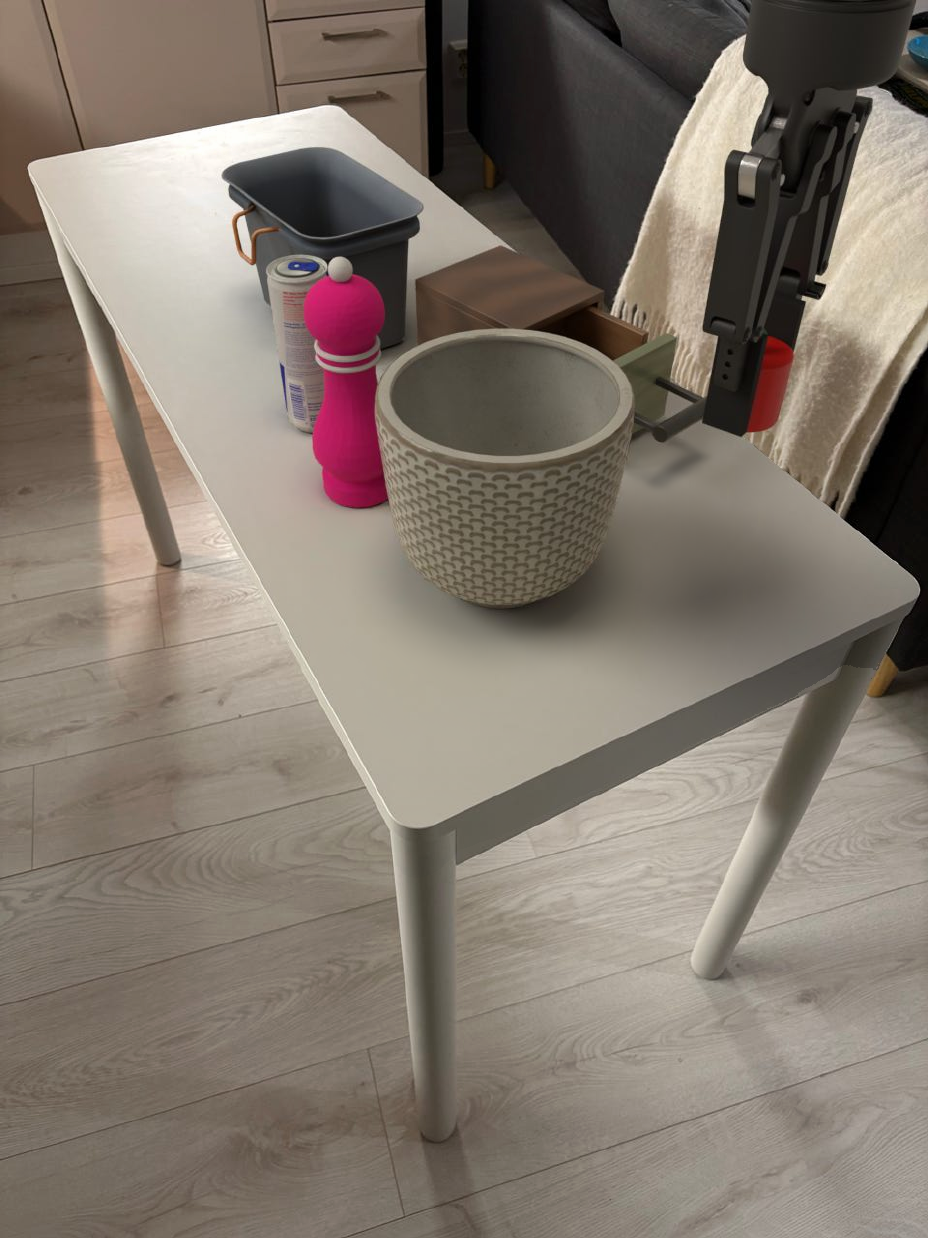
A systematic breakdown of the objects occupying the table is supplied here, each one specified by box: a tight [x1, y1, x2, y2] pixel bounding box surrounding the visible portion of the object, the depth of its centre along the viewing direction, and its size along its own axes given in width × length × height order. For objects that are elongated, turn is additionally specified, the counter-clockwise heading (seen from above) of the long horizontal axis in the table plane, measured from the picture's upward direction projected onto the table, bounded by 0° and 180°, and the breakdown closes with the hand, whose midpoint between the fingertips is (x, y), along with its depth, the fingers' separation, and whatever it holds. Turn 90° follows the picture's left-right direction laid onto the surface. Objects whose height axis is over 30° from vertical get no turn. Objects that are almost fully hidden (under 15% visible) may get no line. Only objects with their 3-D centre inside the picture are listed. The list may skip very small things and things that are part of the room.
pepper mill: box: [303, 257, 389, 508], centre depth 76 cm, size 7×7×20 cm
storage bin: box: [221, 146, 425, 350], centre depth 99 cm, size 21×16×14 cm
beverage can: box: [266, 255, 329, 434], centre depth 85 cm, size 5×5×15 cm
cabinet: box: [414, 245, 605, 346], centre depth 93 cm, size 14×11×10 cm
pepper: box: [746, 328, 795, 433], centre depth 60 cm, size 5×5×6 cm
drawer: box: [536, 306, 707, 444], centre depth 86 cm, size 19×10×8 cm, turn 43°
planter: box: [375, 329, 635, 610], centre depth 70 cm, size 17×17×16 cm
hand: (743, 408), depth 62 cm, fingers closed on pepper, 5 cm apart
